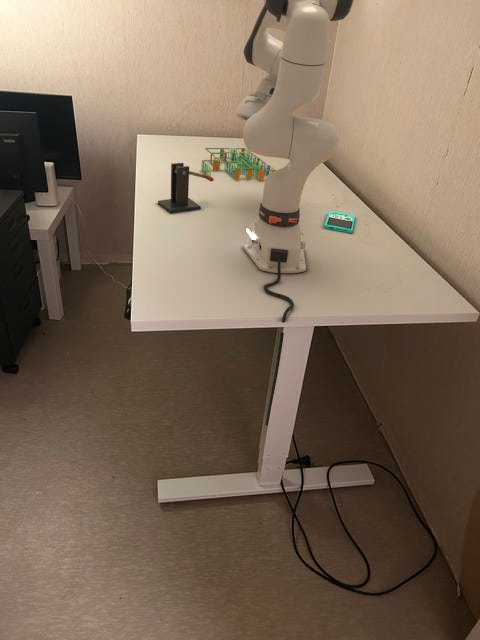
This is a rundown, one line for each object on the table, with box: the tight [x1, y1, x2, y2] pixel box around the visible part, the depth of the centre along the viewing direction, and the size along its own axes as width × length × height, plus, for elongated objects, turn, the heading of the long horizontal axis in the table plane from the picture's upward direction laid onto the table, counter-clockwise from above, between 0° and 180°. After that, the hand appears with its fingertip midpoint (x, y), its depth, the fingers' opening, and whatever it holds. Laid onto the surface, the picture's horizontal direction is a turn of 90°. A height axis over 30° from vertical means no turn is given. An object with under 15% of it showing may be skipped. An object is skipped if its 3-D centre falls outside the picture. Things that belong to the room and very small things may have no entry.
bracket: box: [157, 162, 201, 214], centre depth 163 cm, size 12×10×15 cm
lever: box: [174, 165, 214, 182], centre depth 163 cm, size 14×5×2 cm, turn 125°
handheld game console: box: [323, 211, 356, 234], centre depth 169 cm, size 10×16×1 cm, turn 164°
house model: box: [201, 147, 277, 182], centre depth 211 cm, size 35×30×5 cm
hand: (248, 131), depth 159 cm, fingers closed
